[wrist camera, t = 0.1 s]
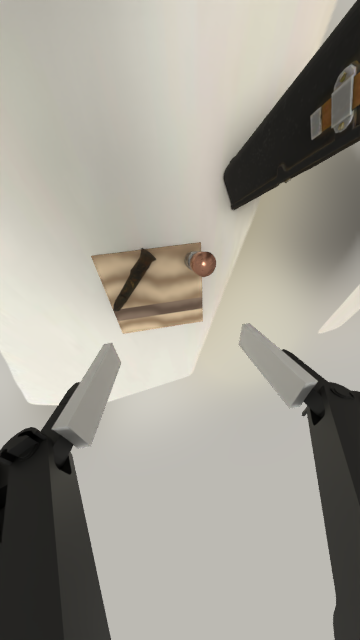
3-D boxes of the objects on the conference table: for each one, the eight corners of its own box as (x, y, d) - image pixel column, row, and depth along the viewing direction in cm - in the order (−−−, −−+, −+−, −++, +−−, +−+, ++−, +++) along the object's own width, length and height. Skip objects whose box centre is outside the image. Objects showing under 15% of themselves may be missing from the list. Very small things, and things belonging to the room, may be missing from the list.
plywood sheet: (91, 256, 32) (91, 256, 32) (200, 242, 33) (200, 242, 33) (123, 333, 44) (123, 333, 44) (202, 320, 45) (202, 321, 45)
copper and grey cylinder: (183, 252, 34) (193, 253, 23) (199, 250, 34) (216, 250, 24) (185, 269, 36) (194, 278, 25) (200, 267, 36) (215, 275, 26)
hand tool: (144, 246, 32) (141, 246, 28) (157, 258, 34) (156, 259, 30) (108, 302, 38) (102, 308, 34) (121, 309, 39) (116, 316, 35)
